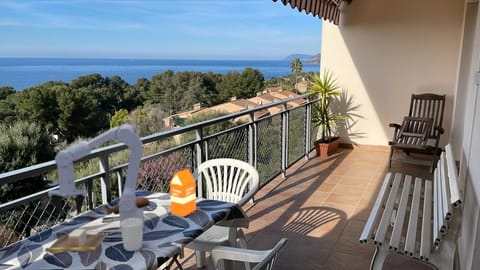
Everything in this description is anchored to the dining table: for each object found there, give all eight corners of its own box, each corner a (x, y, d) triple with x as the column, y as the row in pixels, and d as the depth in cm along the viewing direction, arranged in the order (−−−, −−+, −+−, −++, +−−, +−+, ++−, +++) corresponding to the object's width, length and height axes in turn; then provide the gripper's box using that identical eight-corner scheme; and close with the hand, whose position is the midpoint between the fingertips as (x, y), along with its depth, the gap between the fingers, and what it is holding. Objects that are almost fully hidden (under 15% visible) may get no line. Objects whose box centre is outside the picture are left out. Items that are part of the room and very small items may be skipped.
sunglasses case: (141, 200, 190) (144, 191, 186) (147, 210, 186) (150, 201, 183) (107, 209, 178) (109, 200, 174) (113, 220, 174) (115, 210, 171)
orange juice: (196, 210, 176) (194, 169, 173) (183, 216, 169) (182, 174, 166) (183, 207, 180) (182, 167, 177) (170, 213, 173) (169, 171, 170)
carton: (86, 241, 144) (85, 229, 143) (80, 248, 138) (78, 236, 137) (76, 241, 144) (75, 229, 143) (69, 249, 138) (68, 236, 137)
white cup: (132, 254, 135) (130, 228, 133) (117, 248, 139) (115, 223, 137) (148, 245, 141) (147, 220, 140) (133, 240, 146) (132, 216, 144)
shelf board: (107, 235, 150) (107, 231, 150) (94, 252, 136) (94, 248, 136) (63, 236, 150) (62, 232, 150) (45, 253, 136) (44, 249, 136)
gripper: (43, 183, 143) (46, 217, 145) (80, 183, 143) (83, 216, 145) (52, 178, 150) (55, 210, 152) (88, 178, 150) (90, 209, 152)
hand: (69, 213), depth 149 cm, fingers open, 7 cm apart
